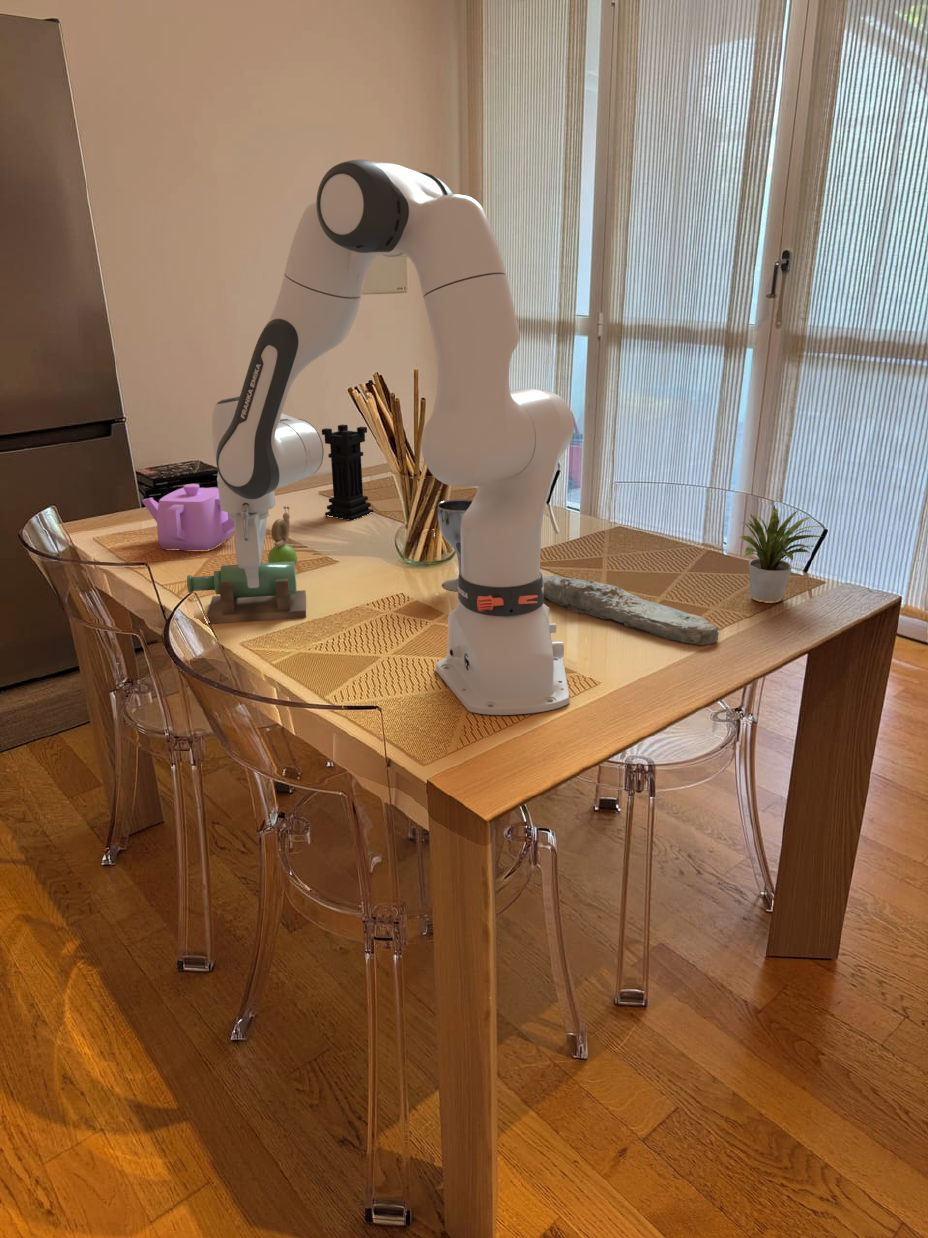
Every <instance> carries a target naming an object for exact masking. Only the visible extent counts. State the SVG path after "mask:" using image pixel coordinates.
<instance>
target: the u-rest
mask: <svg viewBox="0 0 928 1238" xmlns="http://www.w3.org/2000/svg"><path fill="white" fill-rule="evenodd" d="M275 584H276V594H277V596H261V597H245V598H234V594H233V585H232V582H225V583H220V584H219V589H220V594H219V595H212V596H211V601H210V604H209V607H208V611H207V614H206V618H207V617H208V619H209V621H210V624H209V625H212V624H228V623H241V622H254V621H255V622H256V621H268V620H269V621H270V620H286V619H299V618H300V619H301V618H307V593H306V590H304V589H302V590H297V594H293V595H289V586H288V579H276V580H275Z"/></svg>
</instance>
